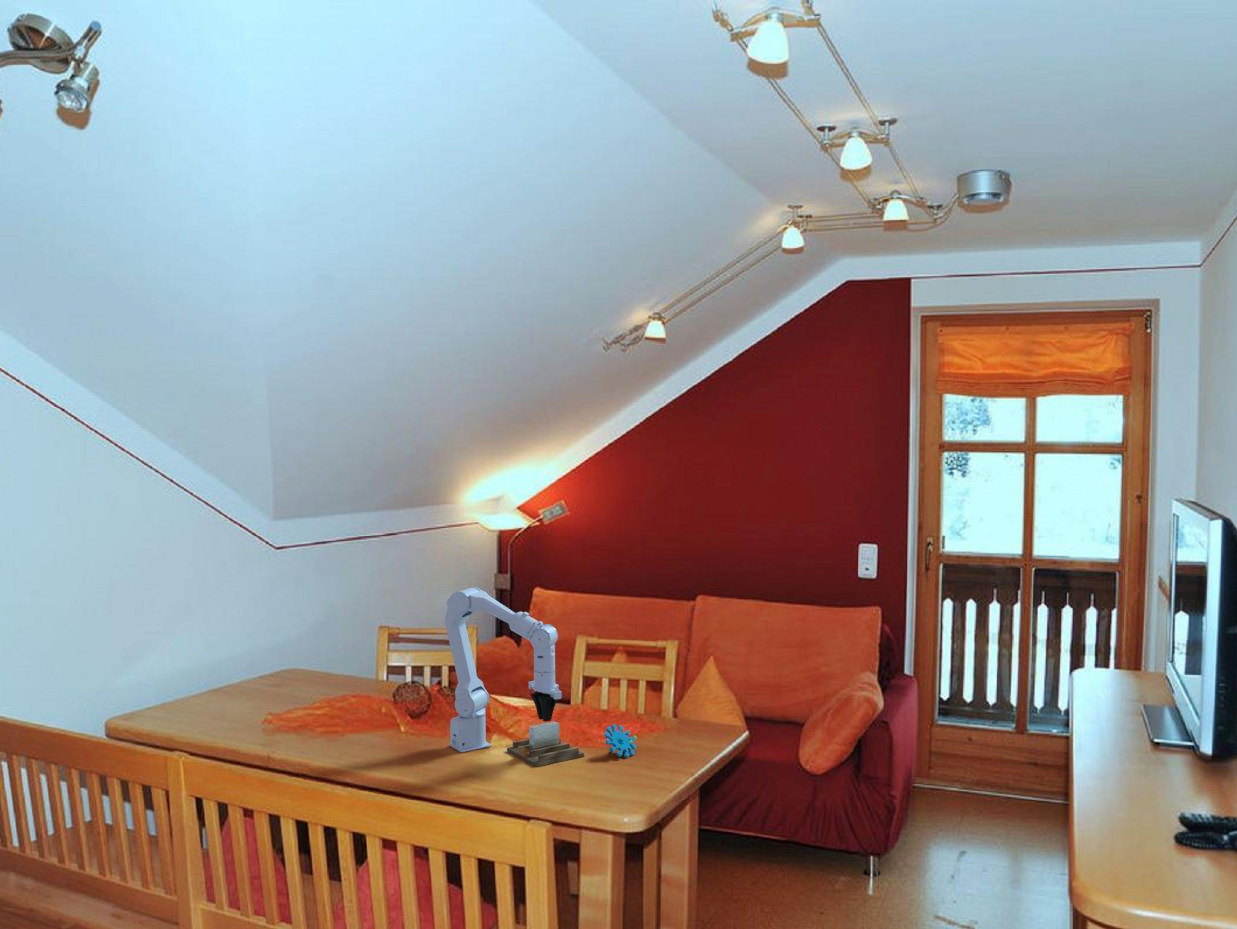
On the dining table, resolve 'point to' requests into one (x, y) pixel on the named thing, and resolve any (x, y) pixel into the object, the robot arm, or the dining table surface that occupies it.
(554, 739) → the panel
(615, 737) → the gear
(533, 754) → the slot rack
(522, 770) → the dining table surface
